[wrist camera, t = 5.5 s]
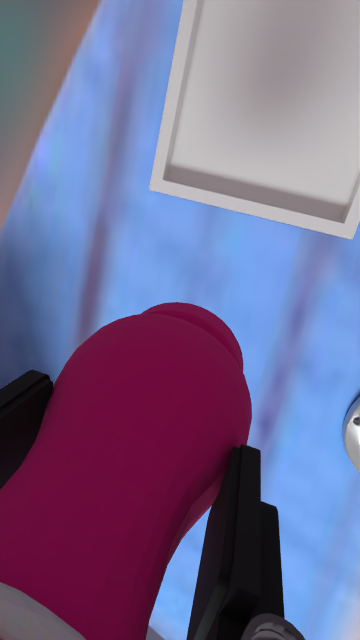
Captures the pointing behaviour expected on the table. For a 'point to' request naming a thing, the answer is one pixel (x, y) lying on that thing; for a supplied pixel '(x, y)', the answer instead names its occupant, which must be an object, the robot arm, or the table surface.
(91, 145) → the table surface
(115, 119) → the table surface
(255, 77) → the tray
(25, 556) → the pepper mill
